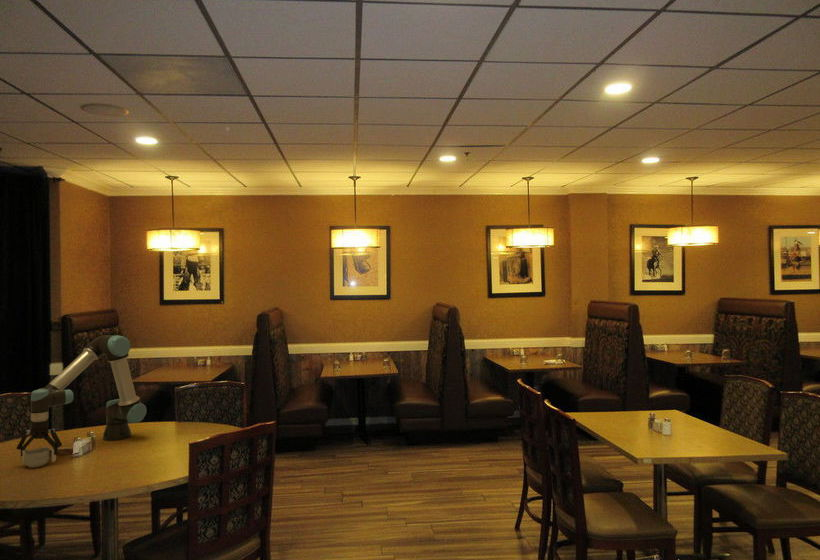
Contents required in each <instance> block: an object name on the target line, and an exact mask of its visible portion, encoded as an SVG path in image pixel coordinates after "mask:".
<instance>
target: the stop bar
mask: <svg viewBox="0 0 820 560" xmlns="http://www.w3.org/2000/svg"><path fill="white" fill-rule="evenodd" d="M73 447H74V446H70V447H69V446H67V447H58V454H56V456H67V455H73V454H72V453H73ZM49 449H50V450H49V457H51V456H52V449H53V447H49Z"/></svg>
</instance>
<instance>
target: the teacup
mask: <svg viewBox="0 0 820 560" xmlns="http://www.w3.org/2000/svg"><path fill="white" fill-rule="evenodd" d="M49 448H50V447H49V446H45V447H38V448H33V449H30V450H27V451H26V452H24V460H25V463H24V464H25V465H26V466H25V467H28V468H39V467H42V466H45V465H46V464H47V463H48V462H49V461H50V456H49V450H50V449H49Z"/></svg>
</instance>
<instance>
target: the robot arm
mask: <svg viewBox="0 0 820 560" xmlns="http://www.w3.org/2000/svg"><path fill="white" fill-rule="evenodd" d="M130 350H131V342H130V341H129V339H128V338H127V337H125V336H122V335H118V334H114V335H112V334H103V335H101V336H100V335H99V336H98V337H97V338H94V339H93V340H92V341H91V342H90V343H88V344H87V345H86V346H85V347H84V348H83V351H81V353H80V354H79V355H78V356H77V357H76V358H75V359H74V360H73V361H71V363H69V365H67V366H66V367H65V368H64V369H63V370H62V371H61V372H60V373H58V375H57V376H55V378H54V379H52V380H51V381H50V382H49V383H47V385H46V386H45V387H42V388H38V389H35V390H33V391H32V392H31V394H30V421H31V422H30V429H26V430H24V431H23V435H22V437H21V439H20V441H18V442H19V443H18V444H17V446H16V450H19V451H20V456H21V457H22V464H25V460H24V452H26V451H28V449H27V447H28V446H29V445H30V444H31V443H32V442H33V441H34V439H35V440H39V439H40V440H43V439H44V440H45V441H46V442H47V443H48V444H49V445H50V446H51V448H53V449H52V455H51V462H52V463H53V462H56V461H57V455H56V454H58V448H61V446H63V444H62V442H61V440H60V438H59V436H58V434H57V433H56V428H52V429H49V423H50V422H49V415H50V414H49V408H52V407H57V406H62V405H68V404H70V403H72V402H73V401H74V392H73V390H71V389H66V388H67V387H68V386H69V385H70V384H72V382H73V381H74V380H75V379H76V378H77V377H78V376H79V375H80V374H81V373H82V372H83V371H85V369H87V368H88V367H89V366H90V365H91V364H92V363H93V362H94V361H98V359H99V358H101V357H102V356H105V360H106V362H108V363H110V367H111V370H112V374H113V378H114V381H115V385H116V386H115V387H116V389H117V393H118V396H119V398H117V399H116V398H115V399H112V400H108V401H107V402H106V407H105V408H106V409H105V410H106V412H105V415H106V417H105V418H106V419H105V420H106V424H105V428H104V432H103V434H102V440H103V441H110V442H111V441H119V440H125V439H128V438H130V437H132V431H131V428H130V425H129V424H138V423H140V422H142V421H143V420H144V418H145V417H146V415H147V410H148V409H147V406H146V405H145V404H144V403H142V402H141V399H140V396H138V395H136V394H137V393H136V390H135V385H134V382H133V378H132V374H131V370H130V366H129V363H128V358H129V355H130V354H129V352H130ZM29 435H31V436H30V437H29V438H28V436H29ZM27 438H28V440H27ZM26 440H27V441H26ZM21 457H20V458H21Z"/></svg>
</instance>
